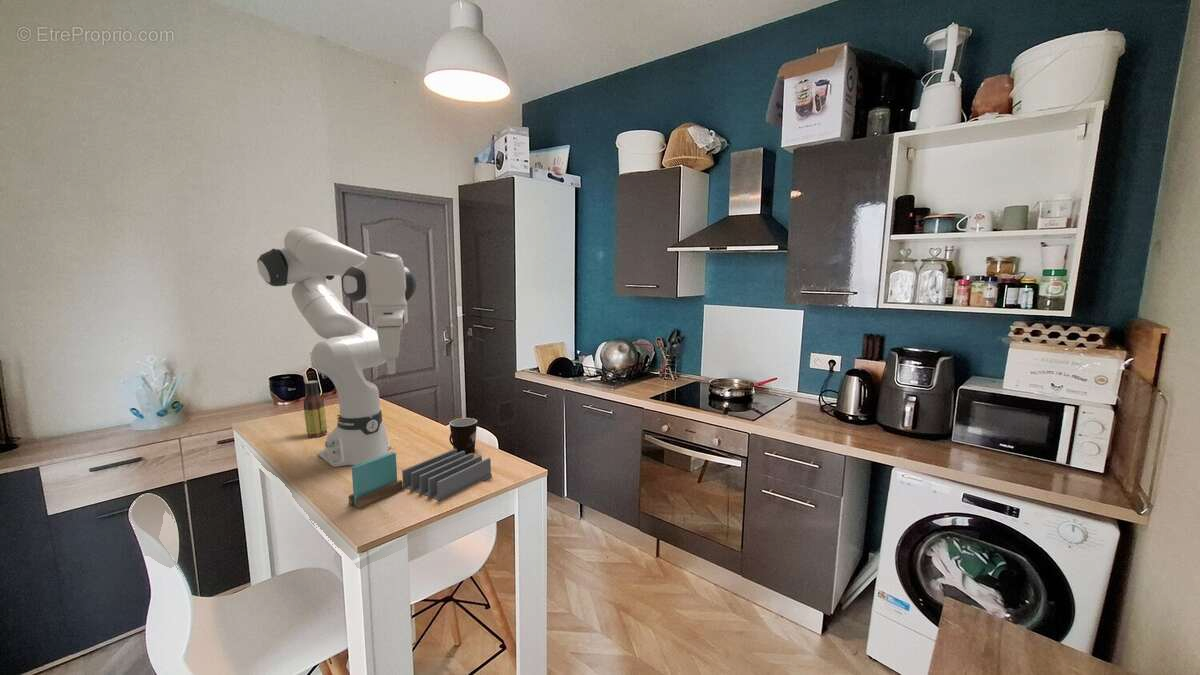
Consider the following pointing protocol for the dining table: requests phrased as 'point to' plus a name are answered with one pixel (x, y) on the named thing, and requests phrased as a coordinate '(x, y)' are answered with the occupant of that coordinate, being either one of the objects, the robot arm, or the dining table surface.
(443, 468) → the rack
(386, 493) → the stand
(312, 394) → the sauce bottle
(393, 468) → the plate
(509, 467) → the dining table surface
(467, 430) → the coffee mug
